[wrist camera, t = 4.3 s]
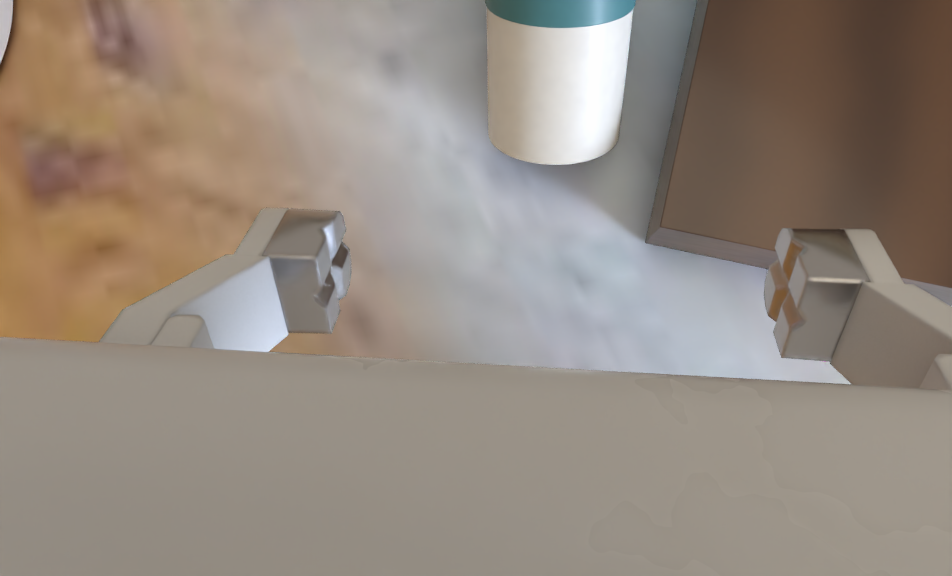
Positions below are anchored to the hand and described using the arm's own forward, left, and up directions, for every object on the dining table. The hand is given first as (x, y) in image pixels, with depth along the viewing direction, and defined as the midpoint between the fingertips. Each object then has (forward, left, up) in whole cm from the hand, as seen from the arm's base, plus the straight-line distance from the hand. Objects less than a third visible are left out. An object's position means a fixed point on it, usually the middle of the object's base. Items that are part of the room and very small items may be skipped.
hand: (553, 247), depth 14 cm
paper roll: (-2, +12, -19) cm, 22 cm away
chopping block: (+10, +14, -19) cm, 26 cm away
